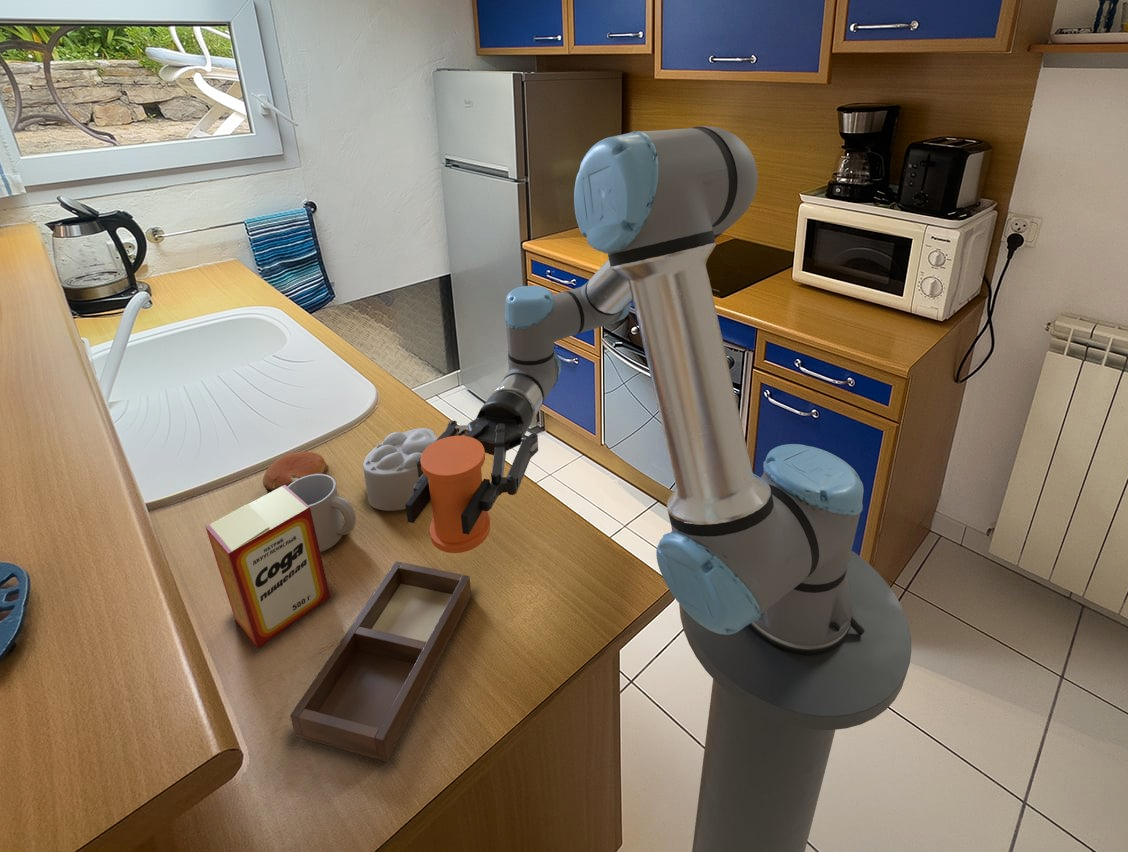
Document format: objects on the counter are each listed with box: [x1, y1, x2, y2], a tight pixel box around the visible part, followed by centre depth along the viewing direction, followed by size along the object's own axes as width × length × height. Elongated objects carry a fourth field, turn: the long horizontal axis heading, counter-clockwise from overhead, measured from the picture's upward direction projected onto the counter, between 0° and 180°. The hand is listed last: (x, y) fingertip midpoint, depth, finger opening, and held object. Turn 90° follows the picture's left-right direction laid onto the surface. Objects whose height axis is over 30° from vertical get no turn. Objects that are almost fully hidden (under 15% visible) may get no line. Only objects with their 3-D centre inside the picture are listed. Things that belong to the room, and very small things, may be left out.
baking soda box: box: [205, 485, 331, 649], centre depth 76 cm, size 10×6×16 cm
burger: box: [262, 451, 330, 494], centre depth 100 cm, size 10×9×5 cm
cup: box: [287, 474, 357, 553], centre depth 89 cm, size 7×10×9 cm
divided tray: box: [289, 560, 472, 763], centre depth 72 cm, size 11×21×4 cm, turn 167°
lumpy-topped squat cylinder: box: [362, 427, 439, 512], centre depth 99 cm, size 10×13×9 cm
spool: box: [420, 435, 492, 554], centre depth 75 cm, size 8×8×12 cm
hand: (436, 519), depth 70 cm, fingers closed on spool, 6 cm apart
